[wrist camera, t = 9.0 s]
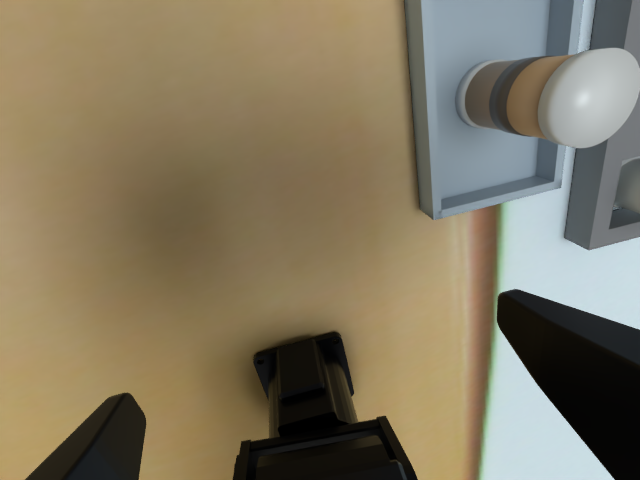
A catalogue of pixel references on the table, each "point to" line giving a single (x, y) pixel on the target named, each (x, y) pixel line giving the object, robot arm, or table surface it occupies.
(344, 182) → the table surface
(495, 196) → the parts tray
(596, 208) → the fuse block
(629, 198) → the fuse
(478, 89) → the fuse
